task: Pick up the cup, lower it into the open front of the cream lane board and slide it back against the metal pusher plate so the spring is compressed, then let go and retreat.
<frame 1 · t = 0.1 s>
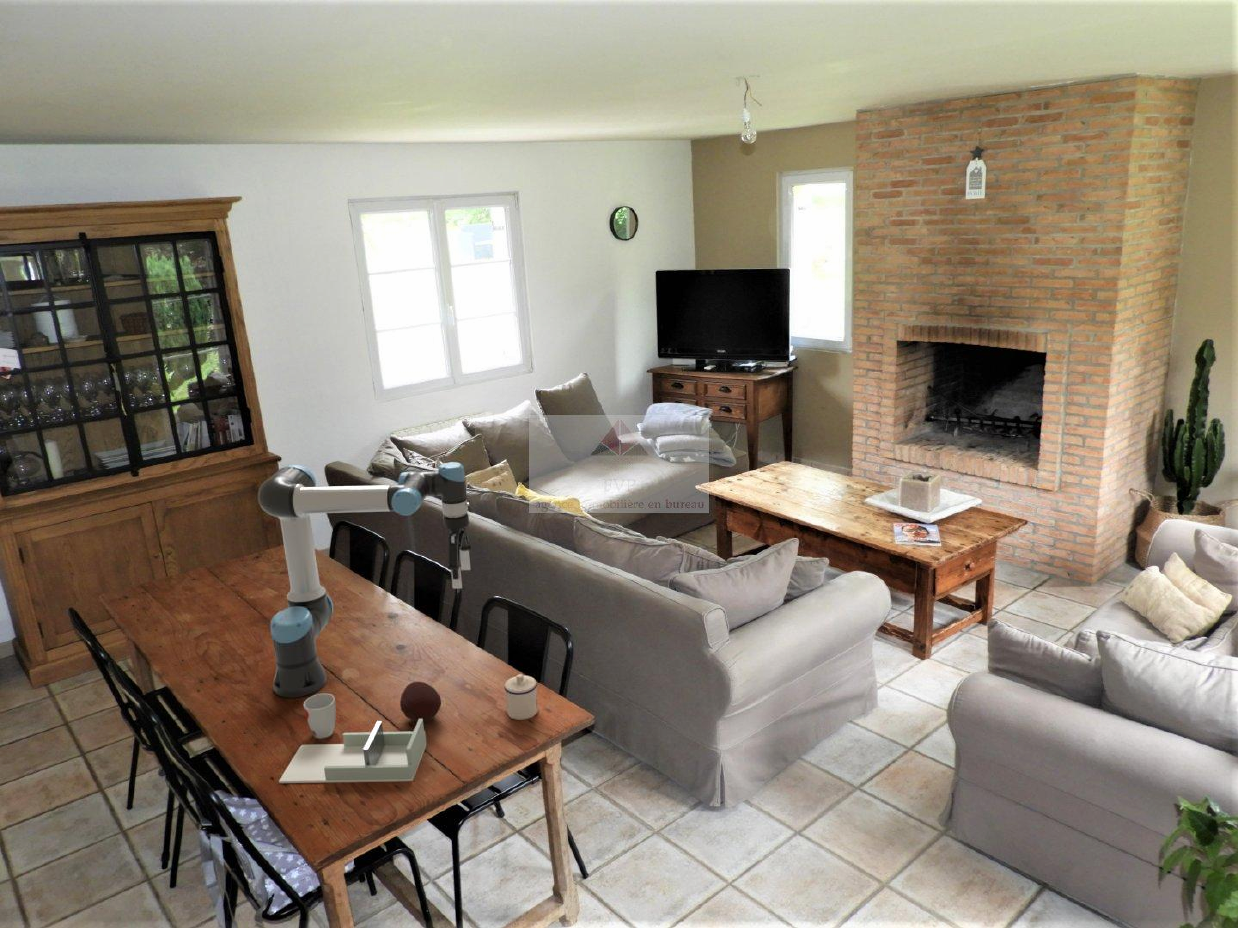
hand: (461, 578, 277), 28 cm above the table, fingers open, 13 cm apart
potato: (422, 720, 253), on the table
lane: (355, 763, 234), on the table
teacup with lid: (519, 710, 256), on the table
pusher: (374, 747, 233), point 5 cm above the table, slide at 0.0 cm
cup: (324, 733, 248), on the table
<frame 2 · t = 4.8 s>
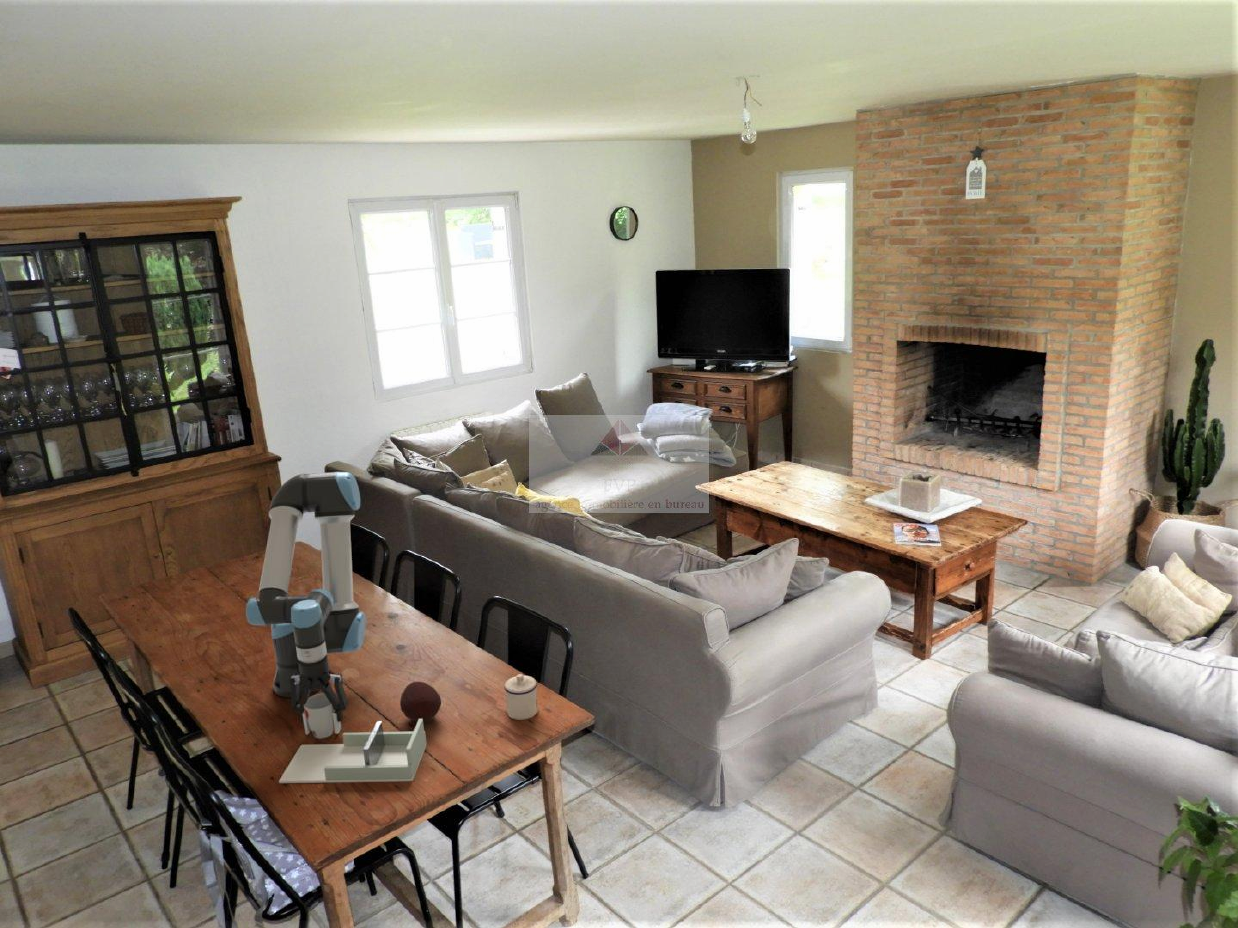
hand: (323, 731, 248), 1 cm above the table, fingers closed on cup, 8 cm apart
cup: (324, 733, 248), on the table, touching gripper
everything else where it was.
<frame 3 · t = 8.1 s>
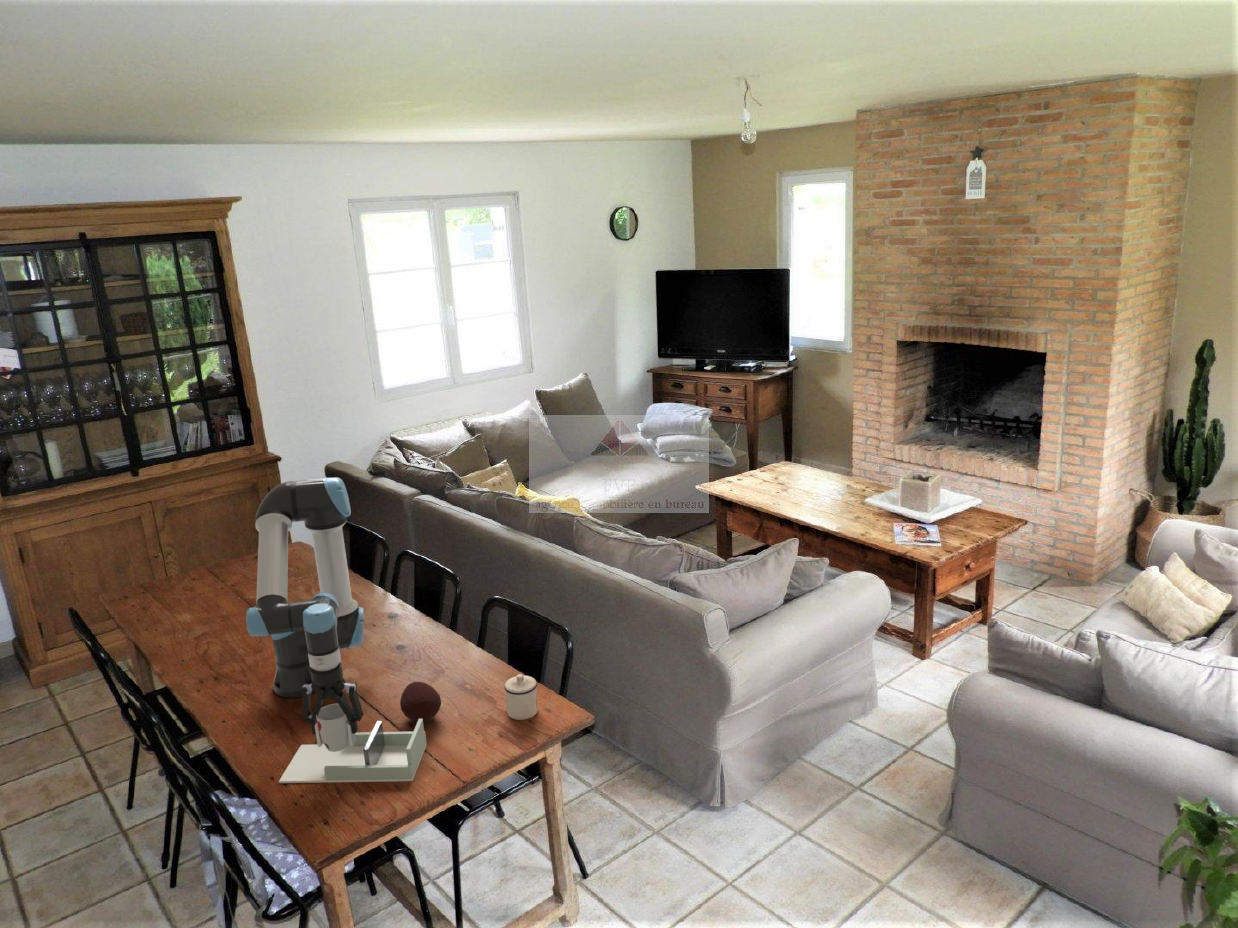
hand: (336, 743, 232), 6 cm above the table, fingers closed on cup, 8 cm apart
cup: (337, 746, 233), point 5 cm above the table, touching gripper
everything else where it was.
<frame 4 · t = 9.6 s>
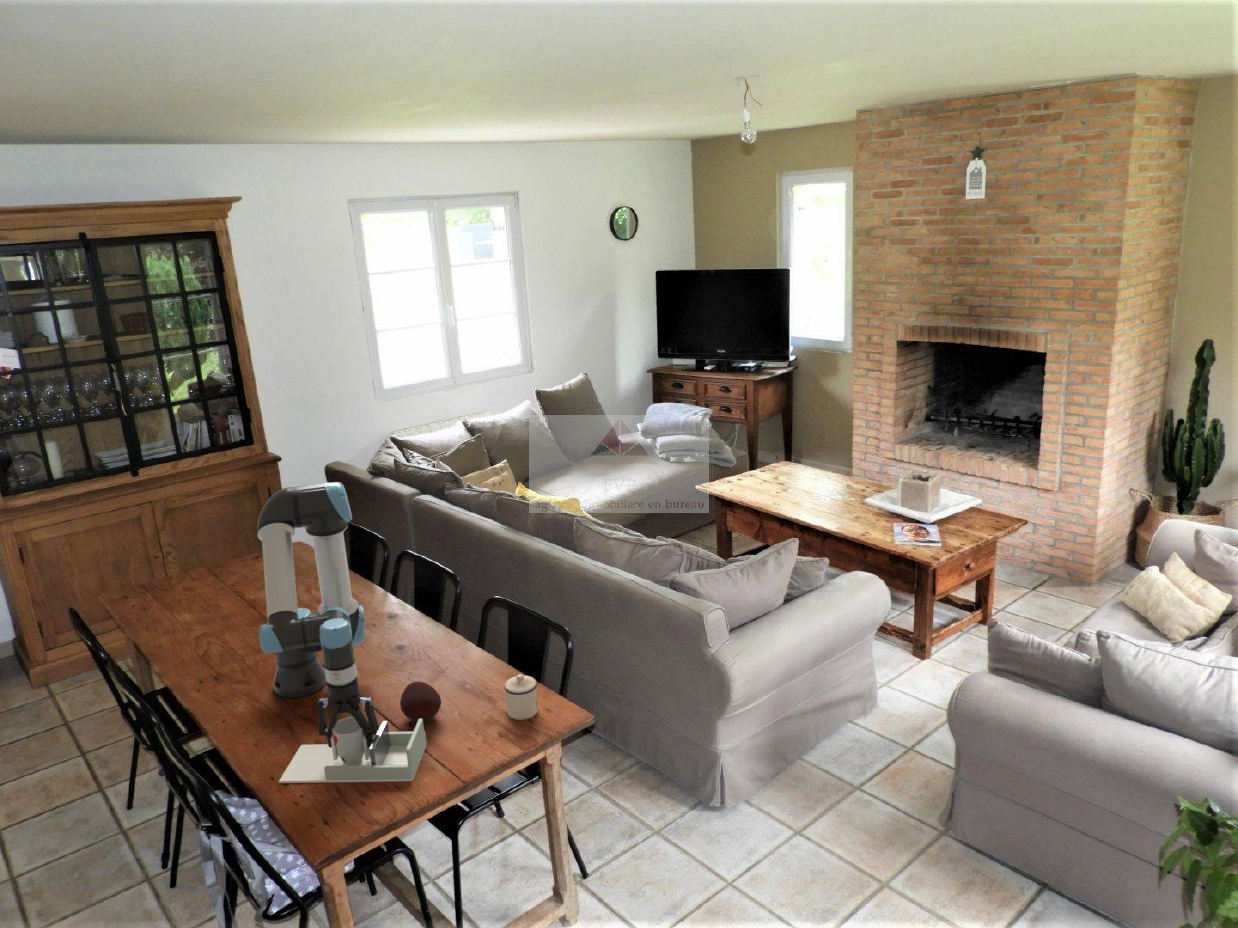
hand: (352, 756, 234), 2 cm above the table, fingers closed on cup, 8 cm apart
pusher: (380, 747, 233), point 5 cm above the table, slide at 1.5 cm, touching gripper
cup: (353, 759, 234), point 1 cm above the table, touching gripper
everything else where it was.
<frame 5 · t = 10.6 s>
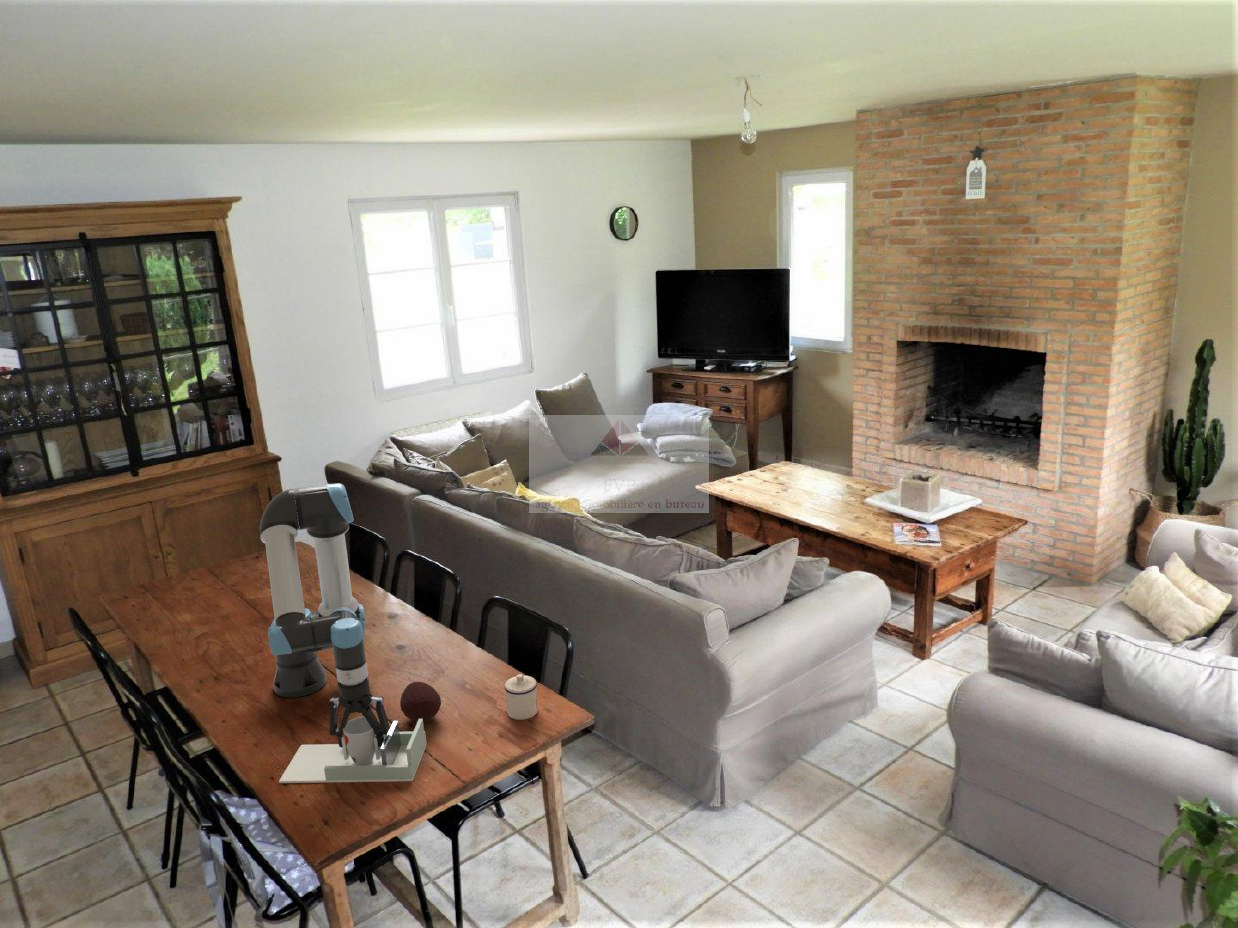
hand: (363, 756, 234), 2 cm above the table, fingers closed on cup, 8 cm apart
pusher: (390, 747, 233), point 5 cm above the table, slide at 4.3 cm, touching gripper
cup: (363, 759, 234), point 1 cm above the table, touching gripper
everything else where it was.
when the fingers open (2 cm above the table, at t = 11.5 s): cup stays where it is, resting on lane.
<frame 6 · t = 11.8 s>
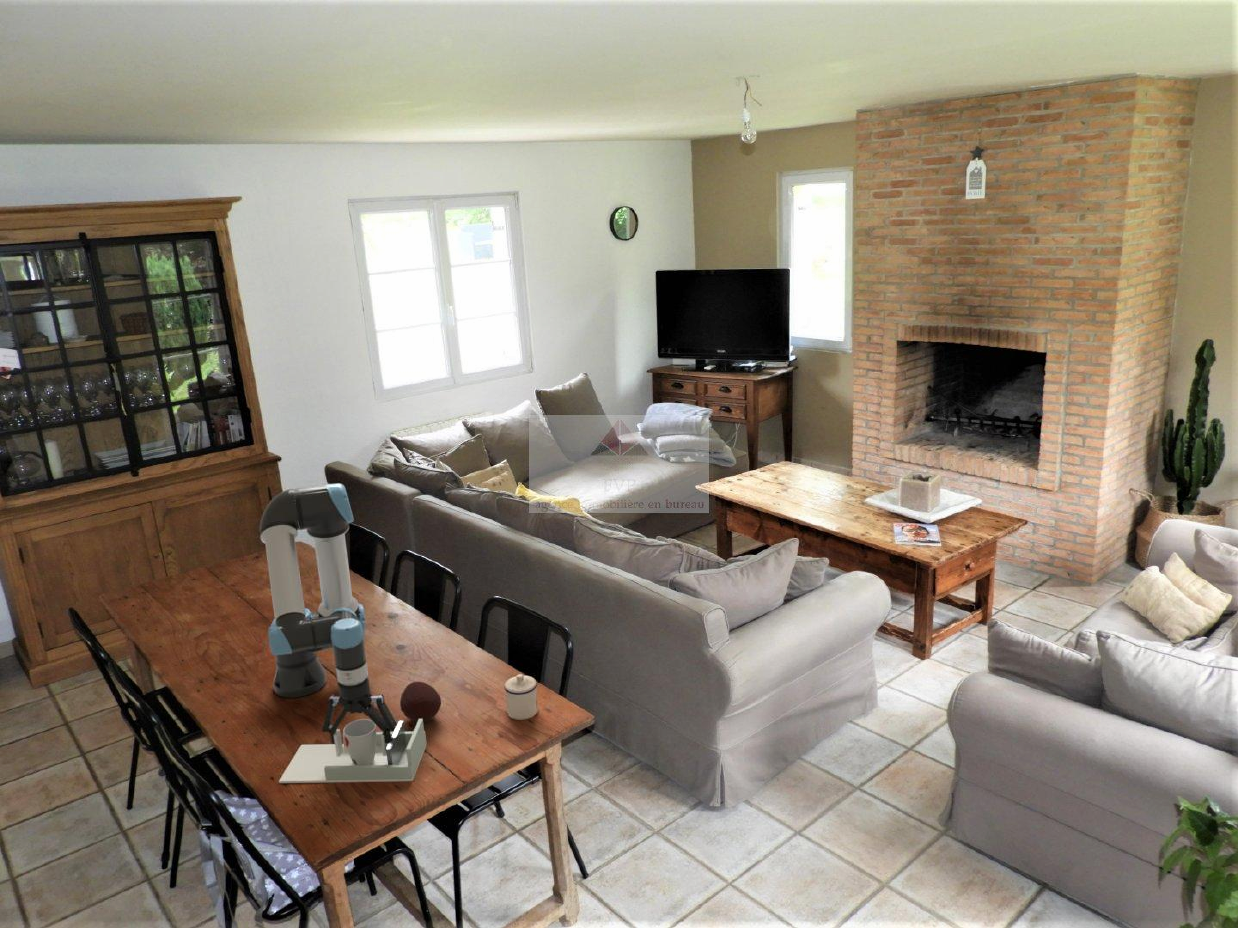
hand: (362, 753, 233), 3 cm above the table, fingers open, 11 cm apart
pusher: (396, 747, 233), point 5 cm above the table, slide at 5.8 cm, touching gripper
cup: (364, 762, 234), resting on lane
everything else where it was.
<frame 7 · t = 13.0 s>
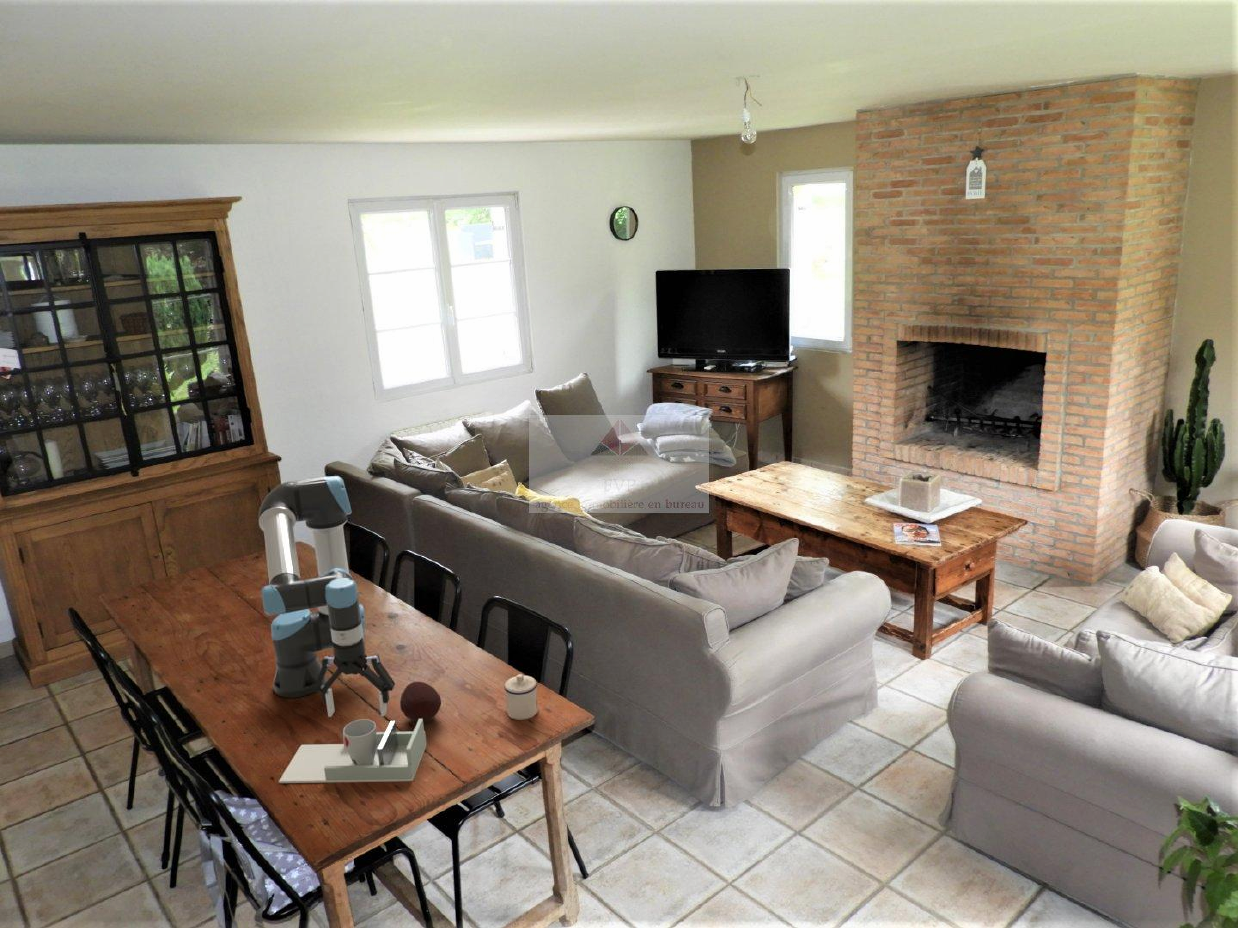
hand: (357, 713, 230), 15 cm above the table, fingers open, 13 cm apart
pusher: (388, 747, 233), point 5 cm above the table, slide at 3.6 cm
everything else where it was.
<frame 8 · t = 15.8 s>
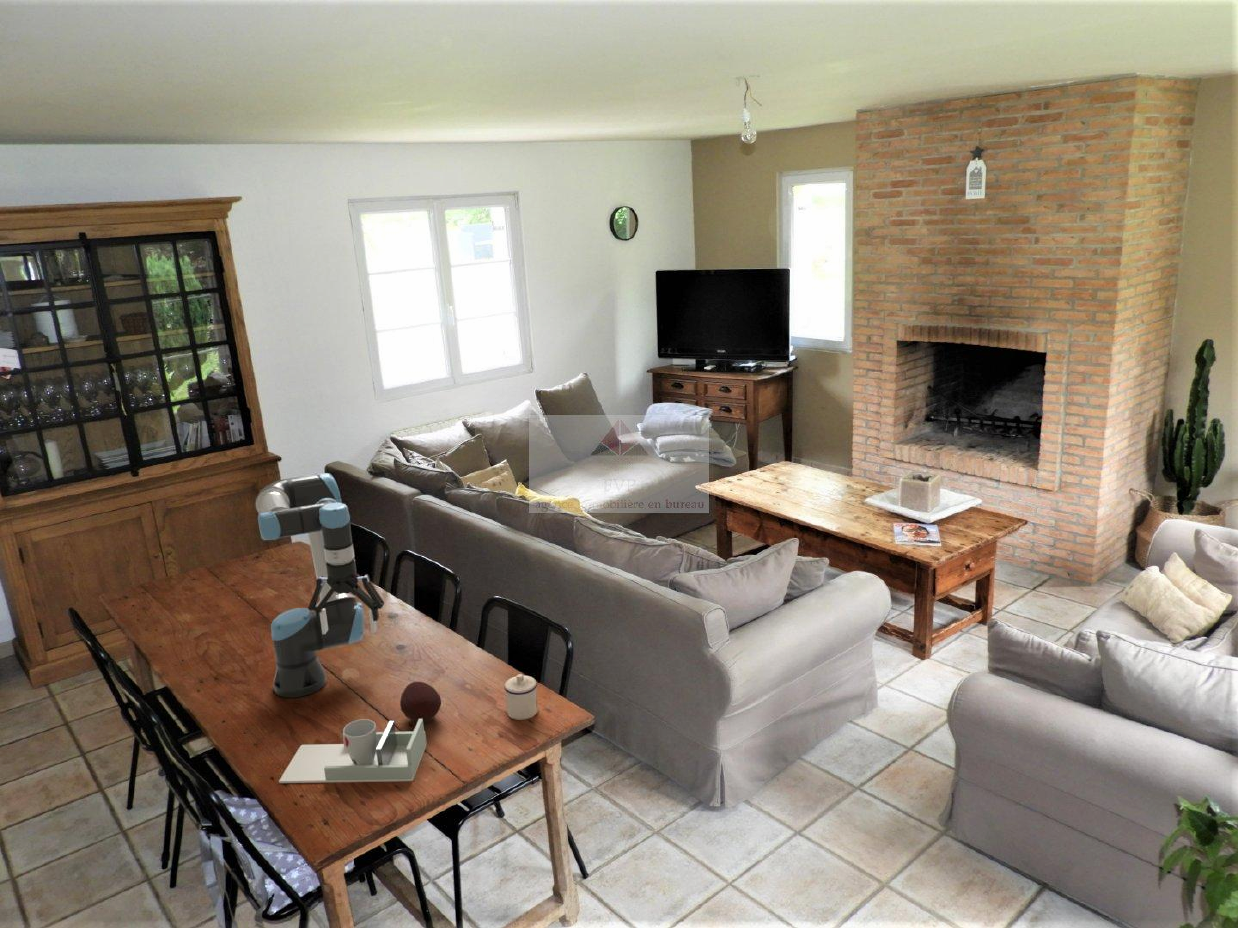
hand: (349, 631, 248), 27 cm above the table, fingers open, 13 cm apart
pusher: (386, 747, 233), point 5 cm above the table, slide at 3.3 cm
everything else where it was.
at the end: cup inside the target area (2.5 cm from its centre), resting on lane; cup tilted 0°; the gripper is holding nothing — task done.
